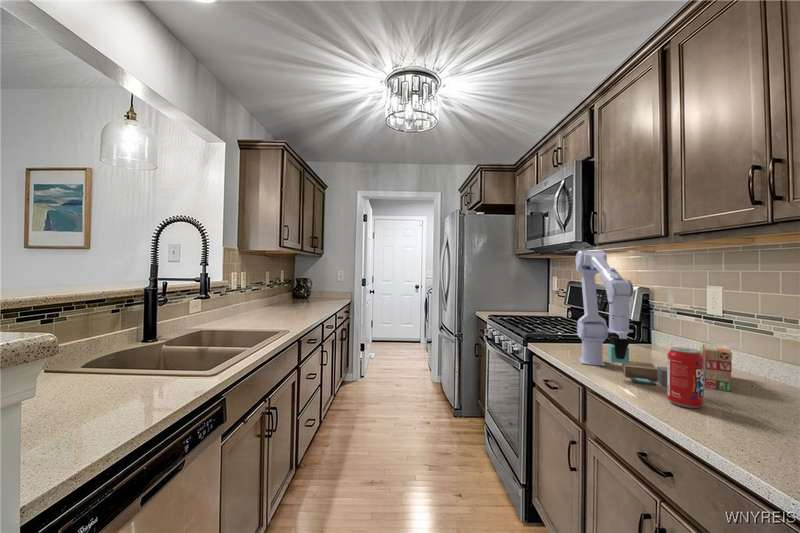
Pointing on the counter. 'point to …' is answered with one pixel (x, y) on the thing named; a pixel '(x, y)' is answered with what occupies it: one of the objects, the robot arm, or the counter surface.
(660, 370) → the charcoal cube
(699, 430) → the counter surface
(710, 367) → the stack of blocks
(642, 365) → the walnut block
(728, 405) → the counter surface
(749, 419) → the counter surface
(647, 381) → the mat
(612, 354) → the teal cube
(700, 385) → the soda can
